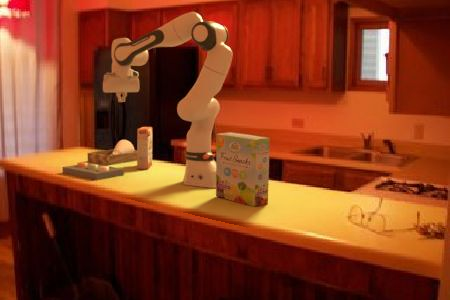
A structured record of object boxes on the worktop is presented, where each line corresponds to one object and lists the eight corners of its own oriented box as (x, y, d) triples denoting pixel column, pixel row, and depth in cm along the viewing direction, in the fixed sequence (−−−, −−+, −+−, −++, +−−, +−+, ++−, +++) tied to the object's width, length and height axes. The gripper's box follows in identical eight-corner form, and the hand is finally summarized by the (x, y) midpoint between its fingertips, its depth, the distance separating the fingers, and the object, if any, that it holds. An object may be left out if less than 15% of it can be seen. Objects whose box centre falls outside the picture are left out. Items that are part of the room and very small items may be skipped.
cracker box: (148, 169, 254) (148, 129, 251) (136, 169, 254) (136, 129, 251) (153, 165, 267) (152, 126, 264) (141, 164, 268) (141, 126, 265)
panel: (123, 175, 238) (123, 169, 238) (97, 180, 226) (97, 173, 225) (89, 168, 254) (89, 162, 253) (62, 173, 241) (62, 167, 241)
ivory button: (111, 175, 235) (111, 166, 235) (103, 177, 231) (102, 168, 231) (104, 174, 238) (104, 165, 238) (96, 176, 234) (96, 167, 234)
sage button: (100, 173, 240) (100, 164, 240) (92, 175, 236) (91, 166, 236) (93, 172, 243) (93, 163, 243) (85, 174, 239) (85, 165, 239)
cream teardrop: (108, 146, 268) (124, 135, 284) (96, 158, 273) (112, 147, 289) (123, 162, 269) (138, 150, 285) (110, 173, 274) (126, 162, 290)
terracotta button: (90, 171, 245) (89, 163, 244) (81, 173, 241) (81, 164, 240) (83, 170, 248) (83, 161, 247) (75, 171, 244) (75, 163, 243)
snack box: (213, 197, 197) (214, 133, 194) (229, 193, 203) (230, 131, 200) (254, 207, 182) (255, 138, 178) (269, 203, 188) (271, 136, 184)
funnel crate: (142, 159, 284) (142, 151, 283) (107, 165, 264) (107, 156, 263) (122, 156, 294) (122, 148, 293) (87, 161, 274) (87, 152, 273)
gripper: (108, 72, 225) (108, 102, 227) (141, 73, 241) (141, 101, 243) (99, 72, 228) (100, 102, 230) (132, 73, 245) (132, 101, 247)
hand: (121, 101), depth 237 cm, fingers closed
